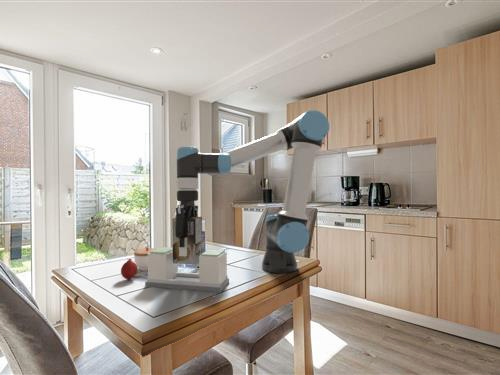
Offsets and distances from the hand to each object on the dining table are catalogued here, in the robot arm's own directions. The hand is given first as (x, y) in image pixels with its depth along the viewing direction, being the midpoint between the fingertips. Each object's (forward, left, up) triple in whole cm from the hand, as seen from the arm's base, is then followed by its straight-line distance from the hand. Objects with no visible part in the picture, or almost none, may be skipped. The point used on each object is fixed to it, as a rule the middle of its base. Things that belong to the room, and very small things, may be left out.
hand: (187, 253), depth 101 cm
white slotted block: (0, 0, -11) cm, 11 cm away
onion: (+24, 0, -11) cm, 26 cm away
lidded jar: (+26, -15, -11) cm, 32 cm away
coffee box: (0, 0, -3) cm, 3 cm away
